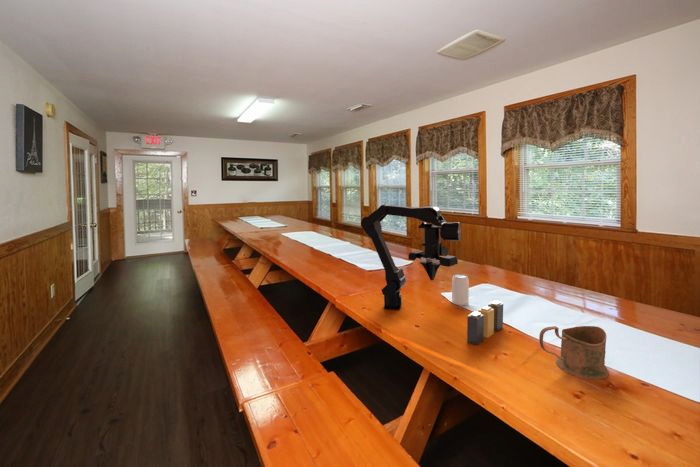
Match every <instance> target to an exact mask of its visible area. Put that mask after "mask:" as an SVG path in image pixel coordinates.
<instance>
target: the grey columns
mask: <svg viewBox="0 0 700 467" xmlns="http://www.w3.org/2000/svg"><path fill="white" fill-rule="evenodd" d="M487 306H489V307H491V308H492V309H494V332H499V331H500V330H501V329H503V328H504V303H503V302H501V301H499V300H493V301H491V302H490V303H488V305H487ZM466 318H467V319H466V321H467V323H466V324H467V325H466V326H467V327H466V329H467V332H466V334H467V336H466V342H467V343H469V344H473V345H474V346H479V344H481V343H482V342H484V338H485V337H484V315H483V314H481V313H479V312H478V311H473V312H471V313H470V314H468V315H467V317H466Z"/></svg>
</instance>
